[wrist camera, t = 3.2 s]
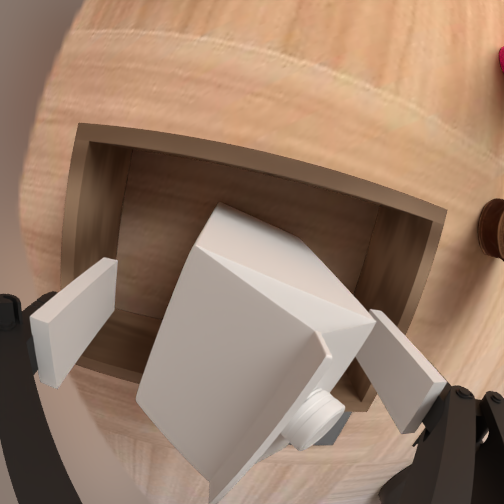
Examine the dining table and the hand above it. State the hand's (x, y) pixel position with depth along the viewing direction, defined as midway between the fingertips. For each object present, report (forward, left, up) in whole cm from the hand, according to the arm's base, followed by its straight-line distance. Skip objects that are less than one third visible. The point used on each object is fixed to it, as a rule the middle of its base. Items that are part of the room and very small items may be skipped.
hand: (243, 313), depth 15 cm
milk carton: (0, 0, -11) cm, 11 cm away
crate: (0, 0, -11) cm, 11 cm away
